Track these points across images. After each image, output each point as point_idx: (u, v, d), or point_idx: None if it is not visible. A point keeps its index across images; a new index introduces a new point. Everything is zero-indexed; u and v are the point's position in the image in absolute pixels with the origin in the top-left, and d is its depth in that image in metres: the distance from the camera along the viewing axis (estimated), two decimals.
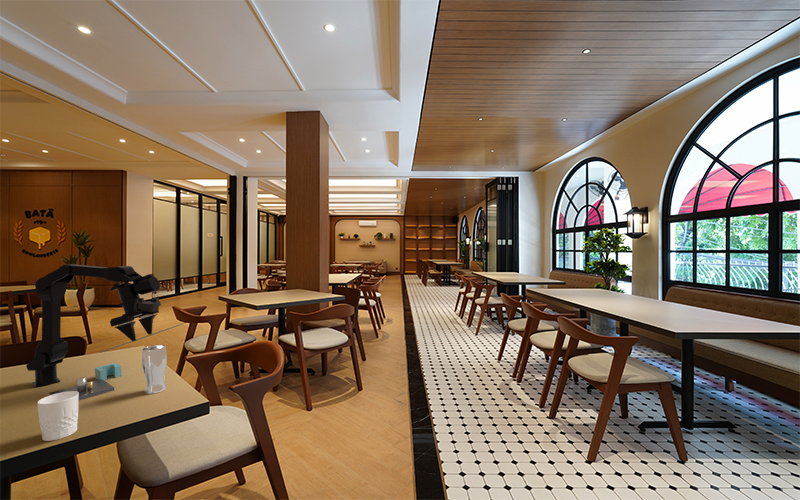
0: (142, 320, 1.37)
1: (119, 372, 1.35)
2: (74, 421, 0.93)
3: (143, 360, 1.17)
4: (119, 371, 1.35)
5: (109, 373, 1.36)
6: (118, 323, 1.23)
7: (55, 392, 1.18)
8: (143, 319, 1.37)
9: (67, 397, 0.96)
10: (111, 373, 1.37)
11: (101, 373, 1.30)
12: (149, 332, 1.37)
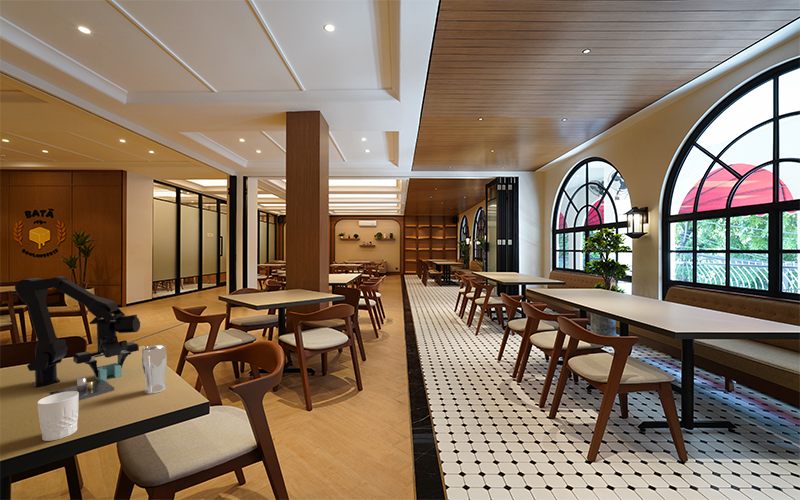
0: (118, 355, 1.38)
1: (119, 372, 1.35)
2: (74, 421, 0.93)
3: (143, 360, 1.17)
4: (119, 371, 1.35)
5: (109, 373, 1.36)
6: (75, 361, 1.27)
7: (55, 392, 1.18)
8: (119, 354, 1.38)
9: (67, 397, 0.96)
10: (111, 373, 1.37)
11: (101, 373, 1.30)
12: None
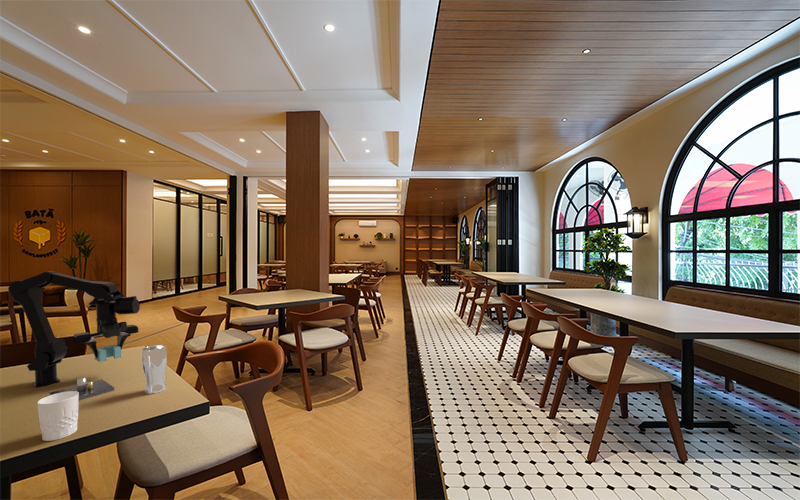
0: (118, 337, 1.38)
1: (119, 353, 1.35)
2: (74, 421, 0.93)
3: (143, 360, 1.17)
4: (119, 352, 1.35)
5: (109, 355, 1.36)
6: (74, 341, 1.27)
7: (55, 392, 1.18)
8: (118, 336, 1.38)
9: (67, 397, 0.96)
10: (111, 355, 1.37)
11: (101, 354, 1.30)
12: None
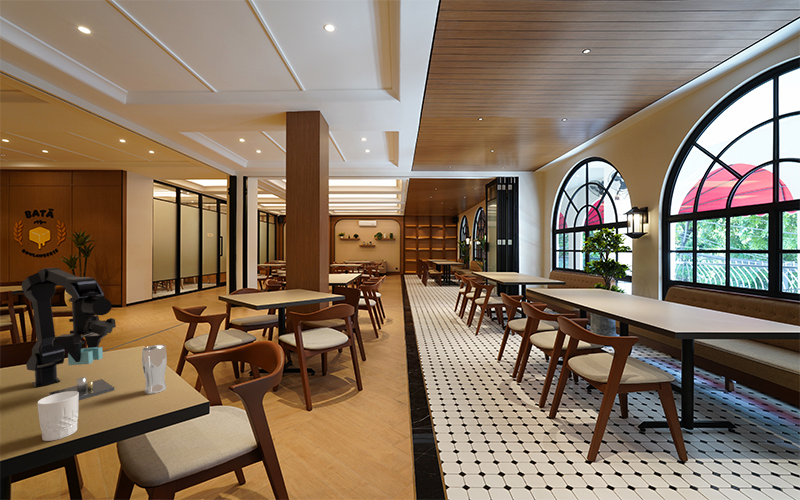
0: (88, 338, 1.25)
1: (101, 354, 1.25)
2: (74, 421, 0.93)
3: (143, 360, 1.17)
4: (101, 353, 1.25)
5: None
6: (61, 343, 1.12)
7: (55, 392, 1.18)
8: (90, 337, 1.26)
9: (67, 397, 0.96)
10: None
11: (89, 355, 1.19)
12: None
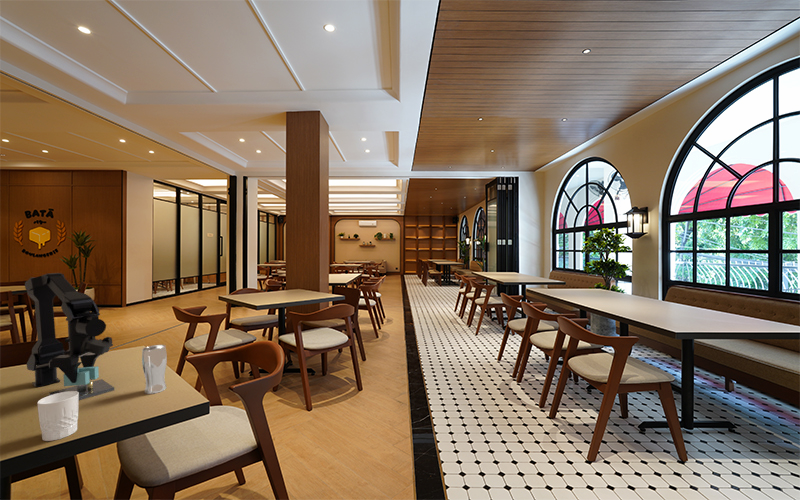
0: (84, 358, 1.23)
1: (97, 373, 1.23)
2: (74, 421, 0.93)
3: (143, 360, 1.17)
4: (97, 372, 1.23)
5: None
6: (58, 365, 1.11)
7: (55, 392, 1.18)
8: (85, 357, 1.23)
9: (67, 397, 0.96)
10: None
11: (86, 375, 1.18)
12: None
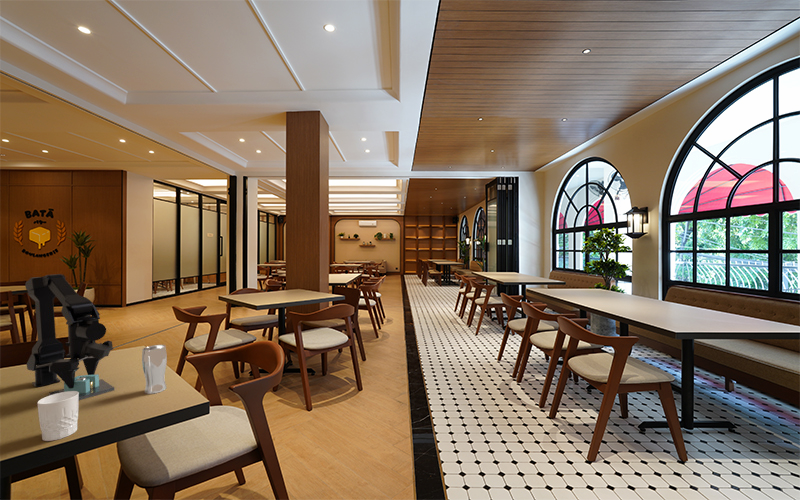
0: (86, 360, 1.25)
1: (97, 381, 1.23)
2: (74, 421, 0.93)
3: (143, 360, 1.17)
4: (97, 380, 1.23)
5: None
6: (59, 369, 1.11)
7: (55, 392, 1.18)
8: (88, 359, 1.25)
9: (67, 397, 0.96)
10: None
11: (86, 383, 1.18)
12: None
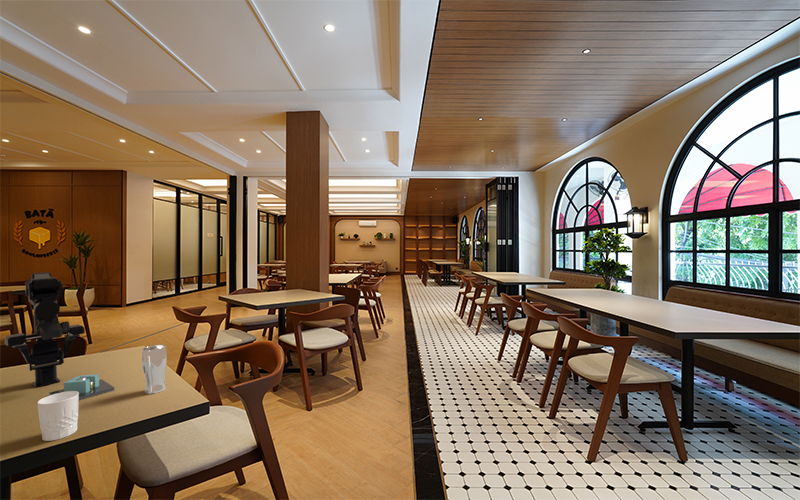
0: (65, 337, 1.25)
1: (97, 381, 1.23)
2: (74, 421, 0.93)
3: (143, 360, 1.17)
4: (97, 380, 1.23)
5: None
6: (6, 343, 1.12)
7: (55, 392, 1.18)
8: (65, 337, 1.25)
9: (67, 397, 0.96)
10: None
11: (86, 383, 1.18)
12: (65, 353, 1.24)
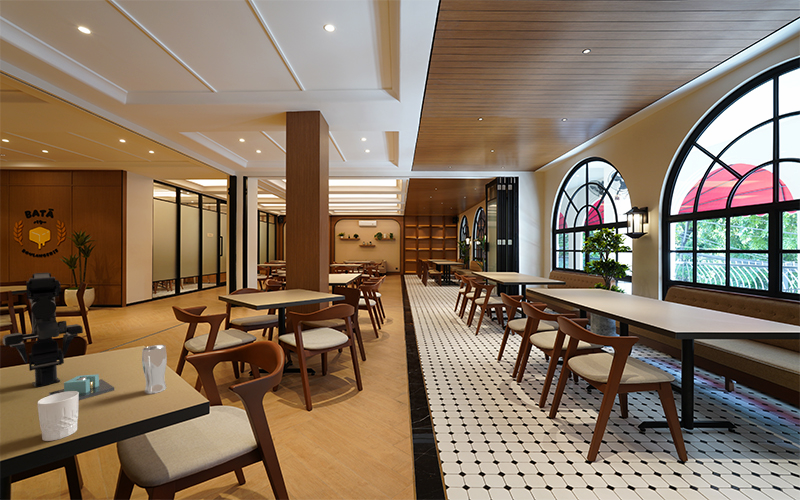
0: (63, 337, 1.25)
1: (97, 381, 1.23)
2: (74, 421, 0.93)
3: (143, 360, 1.17)
4: (97, 380, 1.23)
5: None
6: (4, 343, 1.12)
7: (55, 392, 1.18)
8: (64, 336, 1.25)
9: (67, 397, 0.96)
10: None
11: (86, 383, 1.18)
12: (63, 353, 1.23)
